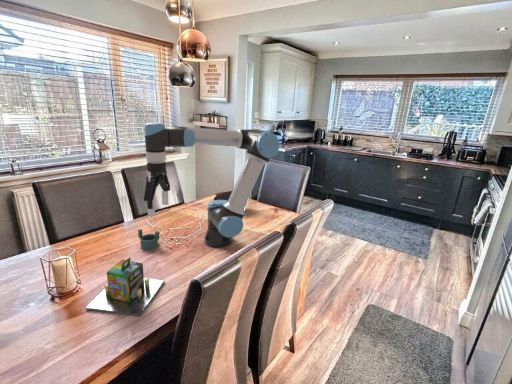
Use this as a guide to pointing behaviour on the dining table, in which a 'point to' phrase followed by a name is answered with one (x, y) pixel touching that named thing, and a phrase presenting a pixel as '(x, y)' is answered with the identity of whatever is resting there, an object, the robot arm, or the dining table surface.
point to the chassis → (122, 307)
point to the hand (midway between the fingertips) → (158, 209)
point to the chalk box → (125, 280)
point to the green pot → (148, 240)
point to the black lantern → (223, 196)
